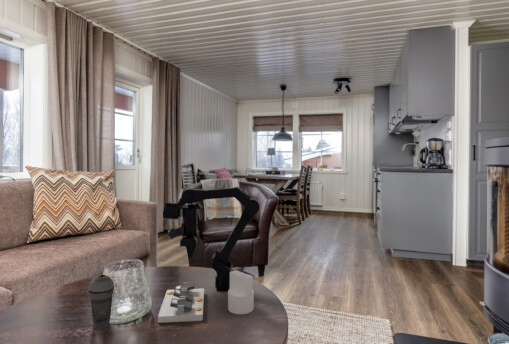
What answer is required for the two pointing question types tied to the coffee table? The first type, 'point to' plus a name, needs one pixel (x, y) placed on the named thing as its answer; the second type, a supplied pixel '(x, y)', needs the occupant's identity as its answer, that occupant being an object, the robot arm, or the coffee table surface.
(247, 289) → the cylinder with rectangular tab
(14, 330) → the coffee table surface
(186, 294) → the switch
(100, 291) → the beverage cup
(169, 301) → the switch panel
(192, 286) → the switch
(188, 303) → the switch
